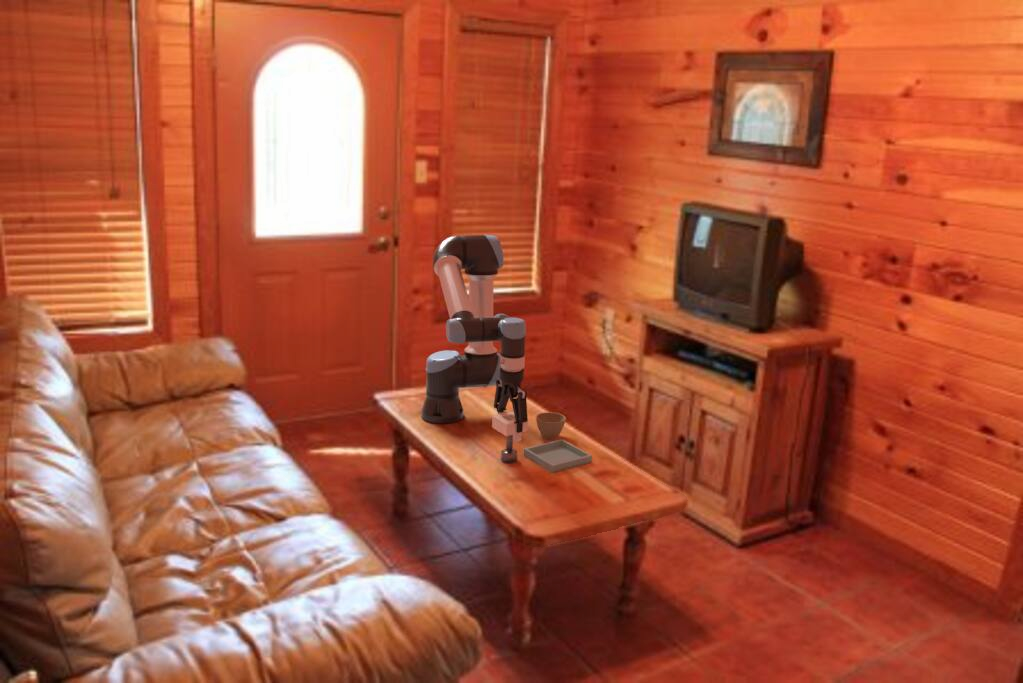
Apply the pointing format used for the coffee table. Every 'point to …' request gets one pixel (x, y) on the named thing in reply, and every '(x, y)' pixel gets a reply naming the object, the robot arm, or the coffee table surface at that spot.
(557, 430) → the flower pot
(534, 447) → the tray
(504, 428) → the ring
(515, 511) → the coffee table surface
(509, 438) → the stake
